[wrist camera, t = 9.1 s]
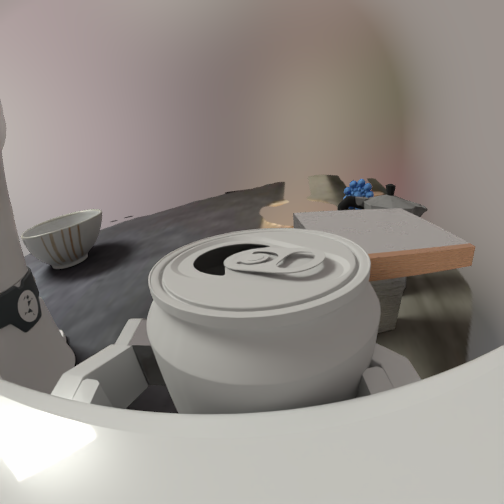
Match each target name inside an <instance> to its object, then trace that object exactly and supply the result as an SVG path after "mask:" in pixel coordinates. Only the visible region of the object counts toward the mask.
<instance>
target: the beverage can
mask: <svg viewBox="0 0 504 504" xmlns="http://www.w3.org/2000/svg"><path fill="white" fill-rule="evenodd" d="M370 268H371V261H370V257H369V255H368V254H367V252H366V251H365V250H364V249H363V248H362V247H361V246H360V245H358V244H357V243H355V242H353V241H351V240H349V239H347V238H344V237H342V236H339V235H335V234H331V233H327V232H322V231H316V230H308V229H296V228H267V229H254V230H245V231H238V232H231V233H226V234H222V235H217V236H213V237H209V238H205V239H202V240H199V241H196V242H193V243H190V244H188V245H185V246H183V247H181V248H179V249H177V250H175V251H173V252H171V253H169V254H168V255H166V256H165V257H163V258H162V259H161V260H160V261H158V262H157V263H156V264H155V266H154V267H153V268H152V270H151V272H150V274H149V278H148V282H149V287H150V291H151V295H152V298H153V299H154V300H153V302H152V305H151V307H150V310H149V314H148V318H147V334H148V338H149V341H150V344H151V347H152V349H153V352H154V355H155V358H156V360H157V363H158V366H159V368H160V371H161V373H162V376H163V378H164V381H165V383H166V386H167V388H168V391H169V393H170V395H171V398H172V400H173V402H174V405H175V407H176V409H177V411H178V414H240V413H257V412H270V411H280V410H289V409H297V408H304V407H311V406H318V405H324V404H329V403H335V402H340V401H345V400H350V399H354V398H356V397H357V393H358V389H359V385H360V381H361V377H362V374H363V373H364V371H365V370H366V369H367V368H370V364H371V359H372V357H373V353H374V348H375V343H376V338H377V333H378V327H379V321H380V314H381V309H380V303H379V299H378V297H377V295H376V293H375V291H374V289H373V287H372V285H371V284H370V282H369V277H370Z"/></svg>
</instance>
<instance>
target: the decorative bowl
mask: <svg viewBox="0 0 504 504" xmlns="http://www.w3.org/2000/svg"><path fill="white" fill-rule="evenodd" d="M101 221H102V211H101V210H99V209H91V210H84V211H79V212H74V213H70V214H66V215H63V216H59V217H56V218H53V219H51V220H48V221H45V222H43V223H40V224H38V225H36V226H34V227H32V228H30V229H28V230H27V231H25V232H24V233H23V234H22V235H21V239H22V241H23V243H24V245H25V246H26V248H27V249H28V250H29V252H30V253H31V254H32V255H33V256H34V257H36V258H37V259H38V260H40V261H41V262H44V263H46V264H49V265H52V267H53V268H54V269H64V268H68V267H71V266H74V265H76V264H79V263H80V262H82V261H84V260H85V259H86V258H87V257H88V252H89V250H90V249H91V248H92V247H93V245H94V243H95V242H96V240H97V237H98V234H99V231H100V227H101Z"/></svg>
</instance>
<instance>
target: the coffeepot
mask: <svg viewBox="0 0 504 504" xmlns="http://www.w3.org/2000/svg"><path fill="white" fill-rule="evenodd" d="M386 190H387V195H382V196H376V197H370V198H367V197H356V196H346V197H345V198H344V199H343V200H342V201H341V203H340V204H339V205H338V211H340V210H347V209H348V208H349V207H355V208H358V209H394V208H401V209H403V210H406V211H408V212H410V213H412V214H414V215H416V216H418V217H421V215H422V214H423V213H424V212H425V211H427V208H426V207H425V206H422V205H421V204H417V203H414V202H411V201H407V200H404V199H402V198H399V197H397V196H394V191H395V185H393V184H388V185H386ZM405 287H406V278H405V283H404V289H405ZM404 289H403V291H404Z"/></svg>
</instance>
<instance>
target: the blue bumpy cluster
mask: <svg viewBox="0 0 504 504" xmlns="http://www.w3.org/2000/svg"><path fill="white" fill-rule="evenodd" d="M371 188H372V186H371V184H370V183H367V184H365V181H364V180H363V179H360V180H359V181H358V182H356V181H351V182H350V187H346V188H345V189H344V193H345V195H346V196H356V197H367V198H370V197H373V195H374V194H373V192H372V191H370V190H371ZM346 196H345V197H346ZM345 197H344V198H345ZM354 208H355V207H349V209H354ZM355 209H356V210H362V209H358V208H355Z"/></svg>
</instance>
